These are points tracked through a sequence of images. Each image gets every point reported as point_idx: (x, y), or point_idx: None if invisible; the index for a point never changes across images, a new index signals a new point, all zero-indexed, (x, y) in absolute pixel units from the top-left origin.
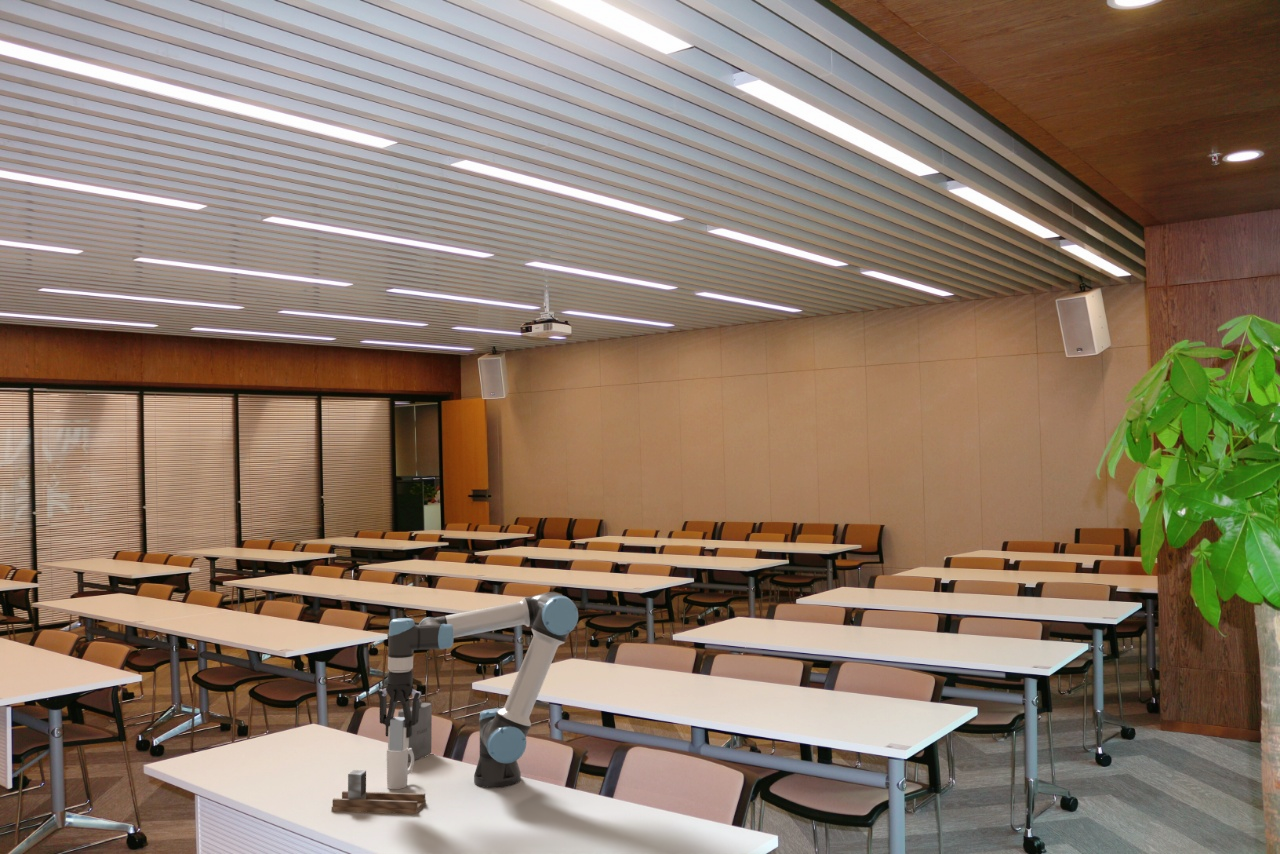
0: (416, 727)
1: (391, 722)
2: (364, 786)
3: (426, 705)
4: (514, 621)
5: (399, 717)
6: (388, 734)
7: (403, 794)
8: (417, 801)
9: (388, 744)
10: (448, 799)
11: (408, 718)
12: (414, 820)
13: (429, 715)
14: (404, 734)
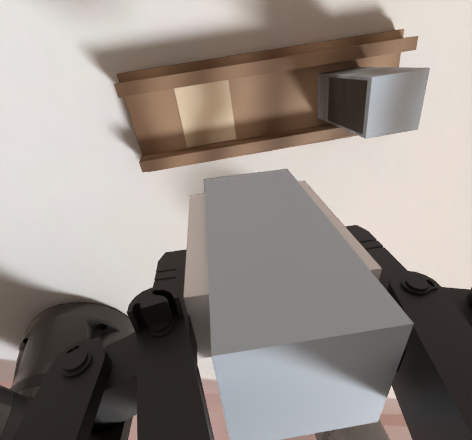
0: (342, 437)
1: (372, 299)
2: (338, 110)
3: None
4: None
5: (325, 420)
6: (341, 224)
7: (207, 150)
8: (118, 96)
9: (309, 190)
10: (111, 214)
11: (140, 422)
12: (80, 8)
13: None
14: (195, 250)
